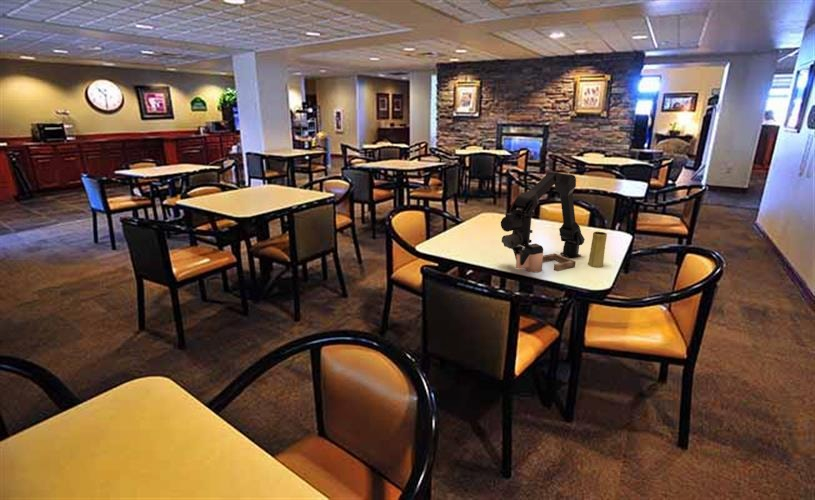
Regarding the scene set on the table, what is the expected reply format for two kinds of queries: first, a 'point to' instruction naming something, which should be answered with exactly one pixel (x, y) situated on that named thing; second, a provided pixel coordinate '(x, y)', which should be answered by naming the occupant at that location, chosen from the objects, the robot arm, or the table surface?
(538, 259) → the pink block
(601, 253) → the vase
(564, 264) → the walnut holder
